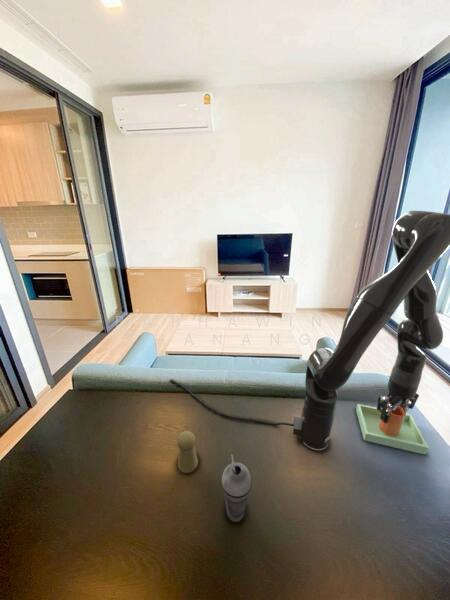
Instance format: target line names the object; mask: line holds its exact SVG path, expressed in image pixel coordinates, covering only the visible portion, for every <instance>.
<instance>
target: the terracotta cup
mask: <svg viewBox="0 0 450 600" xmlns="http://www.w3.org/2000/svg"><path fill="white" fill-rule="evenodd" d="M389 404H390V403H389ZM390 405H391V404H390ZM391 406H392V407H393V405H391ZM388 410H389V408H388V407H387V411H388ZM406 414H407V411H406V412H405V410H404V409H403V408H402V407H400V406H398V407H397V408H396V410H395V411H392V412H391V413H390V416H389V419H388V422H387V423H384V422H383V421H382V420H381V419H380V423H379V428H380V430H381V431H382V432H383V433H385V434H386V435H389V436H392V437H396V436H398V434H399V432H400V429H401V426H402V423H403V421H404V418H405V415H406Z"/></svg>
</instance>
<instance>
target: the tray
mask: <svg viewBox="0 0 450 600" xmlns="http://www.w3.org/2000/svg"><path fill="white" fill-rule="evenodd" d="M355 412H356V416H357V419H358V423H359V426H360V431H361V434H362V438H363V441H364V442H365V441H366V442H369V443H370V442H371V443H373V444H377V445H383V446H386V447H390V448H391V447H392V448H395V449H400V450H403V451H408V452H412V453H417V454H421V455H427V453H428V450H429V446H428V444H427V442H426V440H425V438H424V436H423V435H422V433H421V431H420V428H419V426H418V425H417V423H416V421H415V419H414V417H413V415H412V414H411V413H406V415H405V418H404V421H403V423H402V426H401V429H400V432H399V434H398V436H396V437H392V436H389V435H386V434H385V433H383V432H382V431H381V430H380V428H379V423H380V416H381V412H380V411H379V410H377V406H376V407H374V406H371V405H366V404H361V403H357V406H356V409H355Z"/></svg>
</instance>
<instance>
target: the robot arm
mask: <svg viewBox="0 0 450 600" xmlns="http://www.w3.org/2000/svg"><path fill="white" fill-rule="evenodd" d="M391 238H392V245H393V248H394V252H395V256H396V261H397V264H396V266H394V267H393V268H392V269H391V270H389V271H388V272H386V273H385V274H384V275H382V276H380V277H379V278H377V279H375V280H373V281H372V282H369V284H367V285H365V286H364V287H363V288H362V289H361V290H360V291H359V292H358V294H357V295H356V296H355V298H354V299H353V301H352V303H351V304H350V305H349V307H348V309H347V311H346V313H345V316H344V321H343V324H342V329H341V332H340V333H341V334H340V338H339V340H338V342H337V345H336V346H335V348H334V349H331V348H328V347H321V348H317V349H315V350H314V351H312V353H311V354H309V357H308V359H307V364H306V370H305V371H306V372H305V379H304V382H305V383H304V384H305V394H304V402H303V407H302V410H301V416H300V417H298V416H294V417H293V423H290V422H284V421H283V422H282V421H279V422H271V421H266V420H260V419H256V418H250V417H241V416H234V415H229V414H227V413H223V412H221V411H219V410H217V409H215V408H213V407H212V406H210V405H209V404H207V403H205V402H204V401H203V400H202V399H200V398H199V397H198V396H196V394H194V393H193V392H192V391H191V390H190V389H189V388H187V387H186V386H185V385H183V384H181V383H179V382H178V381H175V380H174V379H170V382H171V383H173V384H175V385H177V386H179V387H181V388H182V389H184V390H185V391H187V392H188V393H189V394H190V395H191V396H192V397H193V398H195V399H196V400H197V401H198V402H200V404H202V405H203V406H205V407H206V408H208V409H209V410H211V411H213V412H215V413H217V414H218V415H221V416H223V417H225V418H230V419H235V420H241V421H250V422H256V423H261V424H265V425H271V426H280V425H282V426H290V427H293V429H292V431H293V432H292V435H294V436H298V437H299V438H298V442H299V443H300V444H302V445H304V446H305V447H306V448H307V449H308V450H311V451H315V452H321V451H322V452H323V451H325V450H326V449H327V448H328V447H329V444H330V439H331V437H332V434H331V433H332V429H333V423H334V418H335V414H336V409H337V404H338V399H339V393H338V390H339V389H341V388H342V387H343V386H344V385H345V384H346V383H347V382H348V380H349V379H350V377H352V374H353V371H354V370H355V369H356V367H357V365H358V363H359V362H360V360H361V358H362V357H363V355H364V354H365V352H366V351H367V349H368V348H369V347H370V345H371V344H372V342H373V341H374V339H375V338H376V337H377V336H378V335H379V333H380V331H382V329H383V328H384V327H385V326H386V324H387V323H388V322H389V321H390V319H391V317H392V316H393V315H394V313H395V312H396V311H397V309H398V307H399V306H400V305H401V303H402V302H403V313H404V317H405V319H403V320H401V322H400V323H398V326H397V329H396V340H397V341H396V342H397V343H396V344H397V355H396V357H395V361H394V364H393V365H392V368H391V372H390V375H389V377H388V381H387V385H386V386H387V390H388V392H387V393H386V396H382V395H379V396H378V397H377V404H376V405H377V406H376V408H377V410H379V411H380V412H381V416H380V419H381V420H382V421H383V422H384V423H387V422H388V419H389V416H390V413H391V412H392V411H395V410H396V408H397V407H398V406H400V407H402V408H403V409H404V410H405V412H406V413H407V412H408V411H409V410H413V409H414V407H415V405H416V403H417V401H418V399H419V397H420V394H419V393H417V391H418V389H419V386H420V383H421V381H422V374H423V371H424V368H425V365H426V362H427V356H426V354H425V353H424V352H423V351H421V349H423V350H425V351H426V350H427V351H430V350H431V351H433V350H435V349H437V348H438V347H439V346H441V344H442V342H443V340H444V330H443V326H442V324H441V322H440V319H439V316H438V313H437V301H438V296H437V295H438V294H437V290H436V286H435V283H434V281H433V280H432V277H431V275H430V273H429V270H430V269H431V267H433V266H434V265H435V263H436V262H437V261H438V260H439V259H440V258H441V257H442V256H443V254H444V253H446V251H447V250H448V249H449V247H450V213H443V212H435V211H428V210H408V211H406V212H404V213H403V214H402V215H400V216H399V217H398V219H396V221H395V222H394V225H393V227H392V231H391ZM418 347H419V348H418ZM420 348H421V349H420ZM389 403H390V404H391V405H393V407H392V406H391V405H390V404H389ZM387 407H388V408H389V410H388V411H387Z"/></svg>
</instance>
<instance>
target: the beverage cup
mask: <svg viewBox="0 0 450 600" xmlns="http://www.w3.org/2000/svg"><path fill="white" fill-rule="evenodd" d="M230 459H231V463H229V464H228V465H227V466H226V467H225V469H224V470H223V473H222V476H221V480H220V481H221V482H220V484H221V487H222V491H223V495H224V503H225V510H226V514H227V515H226V516H227V517H228V519H229V520H231V521H232V522H236V523H237V522H240V521H241V520H242V519H243V518H244V517H245V516H244V515H245V512H246V508H247V502H248V497H249V493H250V491H251V488H252V478H251V477H252V476H251V474H250V471H249V469H248V468H247V467H246V466H245V465H244V464H243V463H241V462H237V461H236V462H235V459H234V454H233V453H231V454H230Z"/></svg>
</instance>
